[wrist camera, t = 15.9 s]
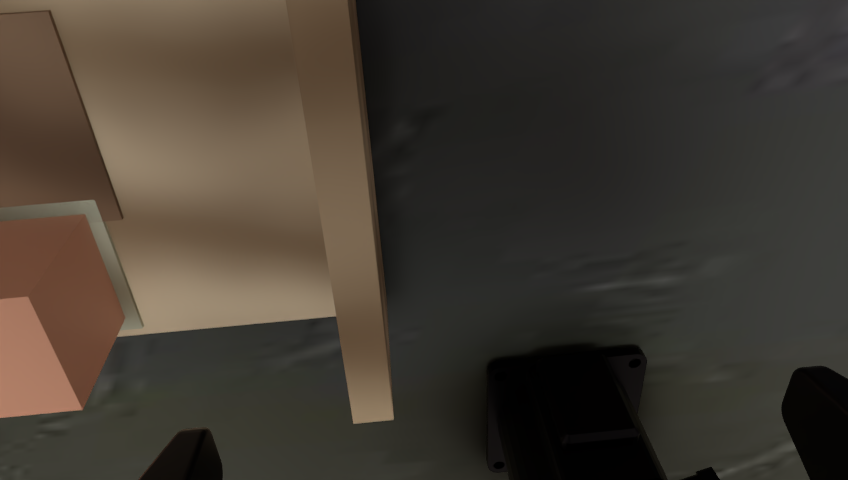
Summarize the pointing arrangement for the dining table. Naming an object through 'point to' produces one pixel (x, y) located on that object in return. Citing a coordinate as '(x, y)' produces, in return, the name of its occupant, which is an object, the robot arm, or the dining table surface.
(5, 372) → the coral block
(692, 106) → the dining table surface
